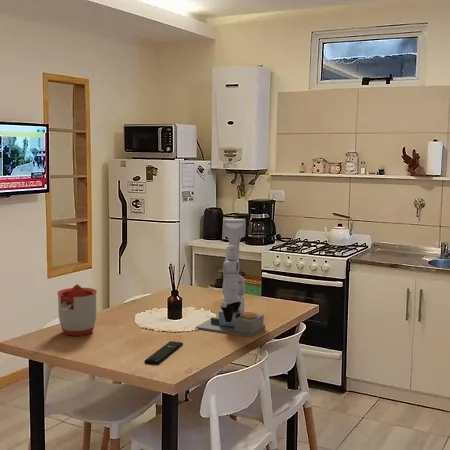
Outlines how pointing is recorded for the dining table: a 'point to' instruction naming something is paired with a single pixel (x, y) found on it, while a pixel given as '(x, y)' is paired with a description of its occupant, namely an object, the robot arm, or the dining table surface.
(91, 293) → the citrus juicer
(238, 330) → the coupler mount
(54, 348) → the dining table surface
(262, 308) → the dining table surface
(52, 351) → the dining table surface
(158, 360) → the remote control
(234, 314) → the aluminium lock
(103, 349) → the dining table surface
